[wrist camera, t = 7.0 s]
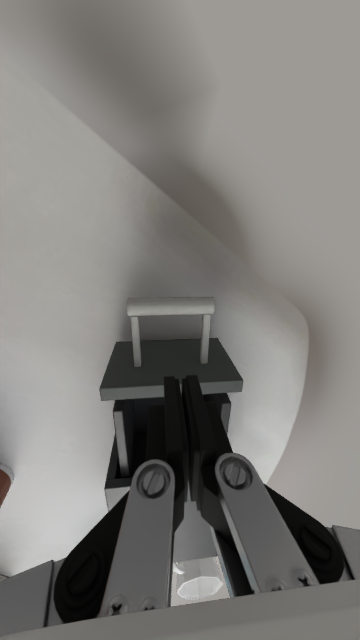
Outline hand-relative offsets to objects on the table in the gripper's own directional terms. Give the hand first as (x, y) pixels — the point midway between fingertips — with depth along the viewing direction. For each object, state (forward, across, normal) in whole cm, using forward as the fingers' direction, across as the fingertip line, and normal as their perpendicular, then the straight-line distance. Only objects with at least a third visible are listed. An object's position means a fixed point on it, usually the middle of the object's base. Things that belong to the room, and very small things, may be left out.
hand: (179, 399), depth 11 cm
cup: (+14, -3, +40) cm, 42 cm away
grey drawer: (+13, 0, +7) cm, 15 cm away
